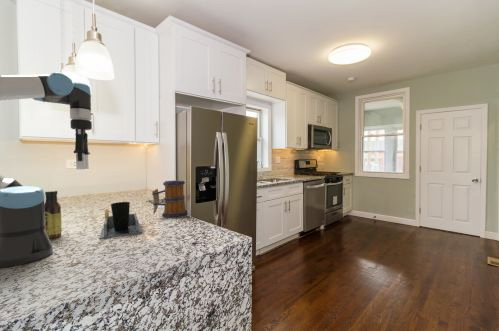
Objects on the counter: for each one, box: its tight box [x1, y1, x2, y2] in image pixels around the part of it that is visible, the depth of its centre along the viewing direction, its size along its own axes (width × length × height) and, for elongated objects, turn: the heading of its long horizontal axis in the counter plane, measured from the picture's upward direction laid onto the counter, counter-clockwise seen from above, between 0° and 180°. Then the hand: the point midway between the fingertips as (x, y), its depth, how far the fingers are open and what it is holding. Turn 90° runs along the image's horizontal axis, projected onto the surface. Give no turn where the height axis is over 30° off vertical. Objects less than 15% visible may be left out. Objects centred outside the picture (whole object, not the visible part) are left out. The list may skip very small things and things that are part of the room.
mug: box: [151, 179, 189, 219], centre depth 137 cm, size 19×14×20 cm
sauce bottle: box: [44, 189, 63, 239], centre depth 102 cm, size 7×6×20 cm
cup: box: [110, 201, 131, 231], centre depth 109 cm, size 8×8×12 cm
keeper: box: [99, 208, 143, 240], centre depth 109 cm, size 18×16×9 cm
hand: (82, 169), depth 104 cm, fingers open, 13 cm apart
